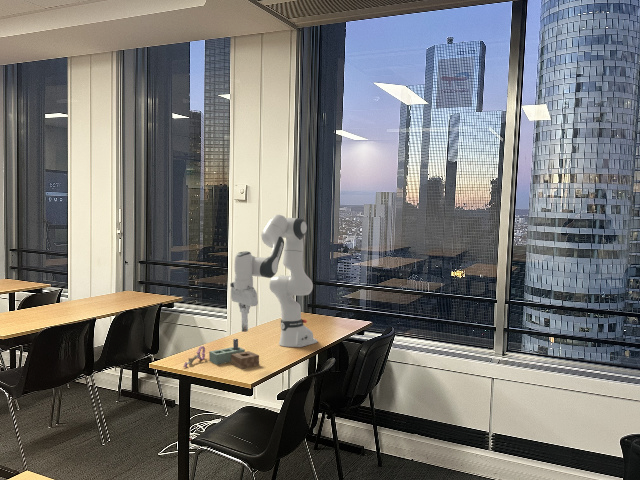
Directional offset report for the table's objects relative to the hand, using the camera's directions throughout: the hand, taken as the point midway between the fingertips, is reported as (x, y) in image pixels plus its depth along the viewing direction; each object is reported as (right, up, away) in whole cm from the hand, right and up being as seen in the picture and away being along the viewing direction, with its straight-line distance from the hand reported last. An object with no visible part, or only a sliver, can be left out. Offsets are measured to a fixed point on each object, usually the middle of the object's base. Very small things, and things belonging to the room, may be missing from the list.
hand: (244, 312), depth 268 cm
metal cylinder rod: (0, -9, +1) cm, 9 cm away
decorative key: (-26, -26, +5) cm, 37 cm away
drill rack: (-10, -26, +10) cm, 29 cm away
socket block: (0, -26, +2) cm, 26 cm away
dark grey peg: (-6, -25, +13) cm, 29 cm away
